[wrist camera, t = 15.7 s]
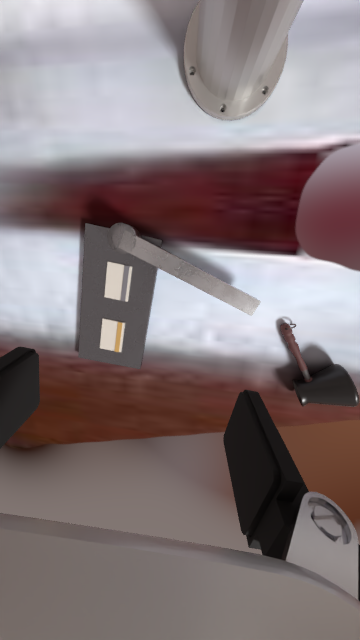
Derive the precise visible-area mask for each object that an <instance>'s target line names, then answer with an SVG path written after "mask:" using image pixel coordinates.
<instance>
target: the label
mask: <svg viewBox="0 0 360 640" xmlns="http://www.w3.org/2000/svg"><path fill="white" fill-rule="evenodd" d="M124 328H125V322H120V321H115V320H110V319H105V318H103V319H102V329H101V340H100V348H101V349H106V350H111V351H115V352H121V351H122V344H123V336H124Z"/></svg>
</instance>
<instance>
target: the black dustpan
mask: <svg viewBox="0 0 360 640" xmlns="http://www.w3.org/2000/svg"><path fill="white" fill-rule="evenodd" d="M290 325H295V326H294V327H296V324H290ZM294 327H291V328H290V326H289V324H287V323H285V324H282V325H281V326H280V328H281V332H282V335H284V339H285V341H286V342H287V343H288V348H289V349H290V351H291V352H292V354H293V355H294V356H295V358H296V360H297V363H298V366H299V369H300V370H301V371H302V373H303V375H304V377H305V378H304V379H303V380H301V381H297V380H293V385H294V388H295V391H296V394H297V397H298V399H299V401H300V403H301V405H302V406H305V405H306V404H308V403H316V404H328V405H339V406H351V407H354V406H357V405H358V404H359V396H358V392H357V389H356V387H355V385H354V382H353V381H352V379H351V377H350V375H349V374H348V372H347V371H346V370H345V369H344V368H343V367H342V366H341V365H339V364H334V365H332V366H330V367H327V368H325V369H323V370H321V371H319V372H317V373H315V374H313V375H311V376H310V375H309V373H308V370H307V366H306V364H305V362H304V360H303V359H302V357H301V354H300V350H299V347H298V344H297V343H296V342H295V337H294V335H293V334H292V328H294Z"/></svg>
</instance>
